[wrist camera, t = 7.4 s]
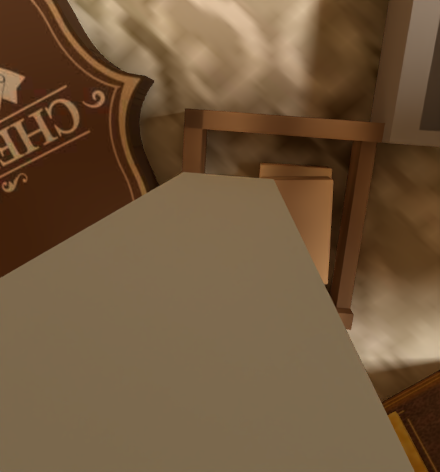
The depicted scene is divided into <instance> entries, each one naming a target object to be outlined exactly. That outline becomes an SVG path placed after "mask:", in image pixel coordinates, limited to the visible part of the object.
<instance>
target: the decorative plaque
mask: <svg viewBox="0 0 440 472" xmlns="http://www.w3.org/2000/svg"><path fill="white" fill-rule="evenodd" d="M153 83H154V80H152V79H150V78H148V77H146V76H143V75H136V74H131V73H127V72H124V71H121V70H120V69H119V68H118V67H116V66H114V65H113V64H112V63H111V62H109V61H108V60H107V59H106V58H104V56H103V55H101V54H100V52H99V51H98V50H97V49H96V47H95V46H94V45H93V44H92V42H91V41H90V39H89V38H88V36H87V35H86V33H85V32H84V30H83V28H82V26H81V24H80V23H79V21H78V19H77V17H76V15H75V13H74V12H73V10H72V8H71V6H70V5H69V3H68V1H67V0H0V278H1V277H3V276H5V275H6V274H8V273H10V272H11V271H13V270H15V269H17V268H18V267H20V266H22V265H24V264H25V263H27V262H29V261H30V260H32V259H34V258H36V257H37V256H39V255H41V254H43V253H44V252H46V251H48V250H49V249H51V248H53V247H55V246H56V245H58V244H60V243H62V242H63V241H65V240H67V239H68V238H70V237H72V236H74V235H75V234H77V233H79V232H81V231H82V230H84V229H86V228H87V227H89V226H91V225H93V224H94V223H96V222H98V221H100V220H101V219H103V218H105V217H106V216H108V215H110V214H112V213H113V212H115V211H117V210H119V209H120V208H122V207H124V206H125V205H127V204H129V203H131V202H132V201H134V200H136V199H138V198H139V197H141V196H143V195H144V194H146V193H148V192H150V191H151V190H153V189H155V188H157V187H158V186H159V185H158V182H157V180H156V177H155V175H154V173H153V171H152V168H151V166H150V164H149V162H148V160H147V157H146V155H145V152H144V149H143V147H142V146H143V145H142V141H141V137H140V127H139V118H140V111H141V107H142V104H143V101H144V99H145V96H146V95H147V92H148V90H149V88H150V87H151V86H152V84H153Z"/></svg>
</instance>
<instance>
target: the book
mask: <svg viewBox="0 0 440 472" xmlns="http://www.w3.org/2000/svg"><path fill="white" fill-rule="evenodd" d="M382 405H383V407H384V409H385V411H386V413H387V415H388V417H389V420H390V422H391V424H392V426H393V428H394V430H395V432H396V434H397V436H398V438H399V440H400V442H401V444H402V447H403V449H404V451H405V453H406V455H407V457H408V459H409V461H410V463H411V465H412V467H413V469H414V471H415V472H440V370H439V371H437V372H436V373H434V374H432V375H430V376H429V377H427V378H425V379H423V380H421V381H420V382H418V383H416V384H414V385H412V386H411V387H409V388H407V389H405V390H403V391H402V392H400V393H398V394H396V395H394V396H393V397H391V398H389V399H387V400H385V401H384V402H382Z"/></svg>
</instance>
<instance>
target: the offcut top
mask: <svg viewBox="0 0 440 472" xmlns="http://www.w3.org/2000/svg"><path fill="white" fill-rule="evenodd" d="M262 178H265V179H274V181H275V183H276V185H277V187H278V190H279V192H280V194H281V196H282V198H283V200H284V202H285V204H286V206H287V208H288V210H289V212H290V214H291V217H292V219H293V221H294V223H295V225H296V227H297V229H298V231H299V233H300V235H301V237H302V239H303V241H304V243H305V246H306V248H307V250H308V252H309V254H310V256H311V258H312V260H313V262H314V264H315V266H316V268H317V270H318V272H319V275H320V277H321V279H322V281H323V283H324V284H328V270H329V252H330V234H331V216H332V198H333V179H331V178H330V177H328V176H266V177H262Z"/></svg>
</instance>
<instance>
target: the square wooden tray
mask: <svg viewBox="0 0 440 472" xmlns="http://www.w3.org/2000/svg"><path fill="white" fill-rule="evenodd" d="M384 126H385V123H376V122H362V121H348V120H335V119H321V118H307V117H293V116H280V115H266V114H252V113H239V112H225V111H211V110H198V109H185V122H184V143H183V163H182V172H189V173H202V174H205V162H206V146H207V131H208V129H209V130H222V131H236V132H249V133H262V134H276V135H289V136H302V137H315V138H329V139H342V140H353V144H352V151H351V157H350V164H349V171H348V178H347V184H346V191H345V198H344V205H343V211H342V218H341V225H340V232H339V238H338V245H337V252H336V258H335V265H334V272H333V279H332V285H331V292H330V294H329V295H330V297H331V299H332V301H333V304H334V306H335V308H336V310H337V312H338V314H339V316H340V318H341V320H342V322H343V324H344V326H345V328H346V329H349V330H351V326H352V320H353V313H352V311H351V309H350V307H351V300H352V294H353V288H354V282H355V276H356V270H357V263H358V257H359V251H360V245H361V239H362V233H363V227H364V220H365V214H366V208H367V202H368V196H369V190H370V184H371V177H372V171H373V165H374V159H375V153H376V147H377V142H382V138H383V132H384Z"/></svg>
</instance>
